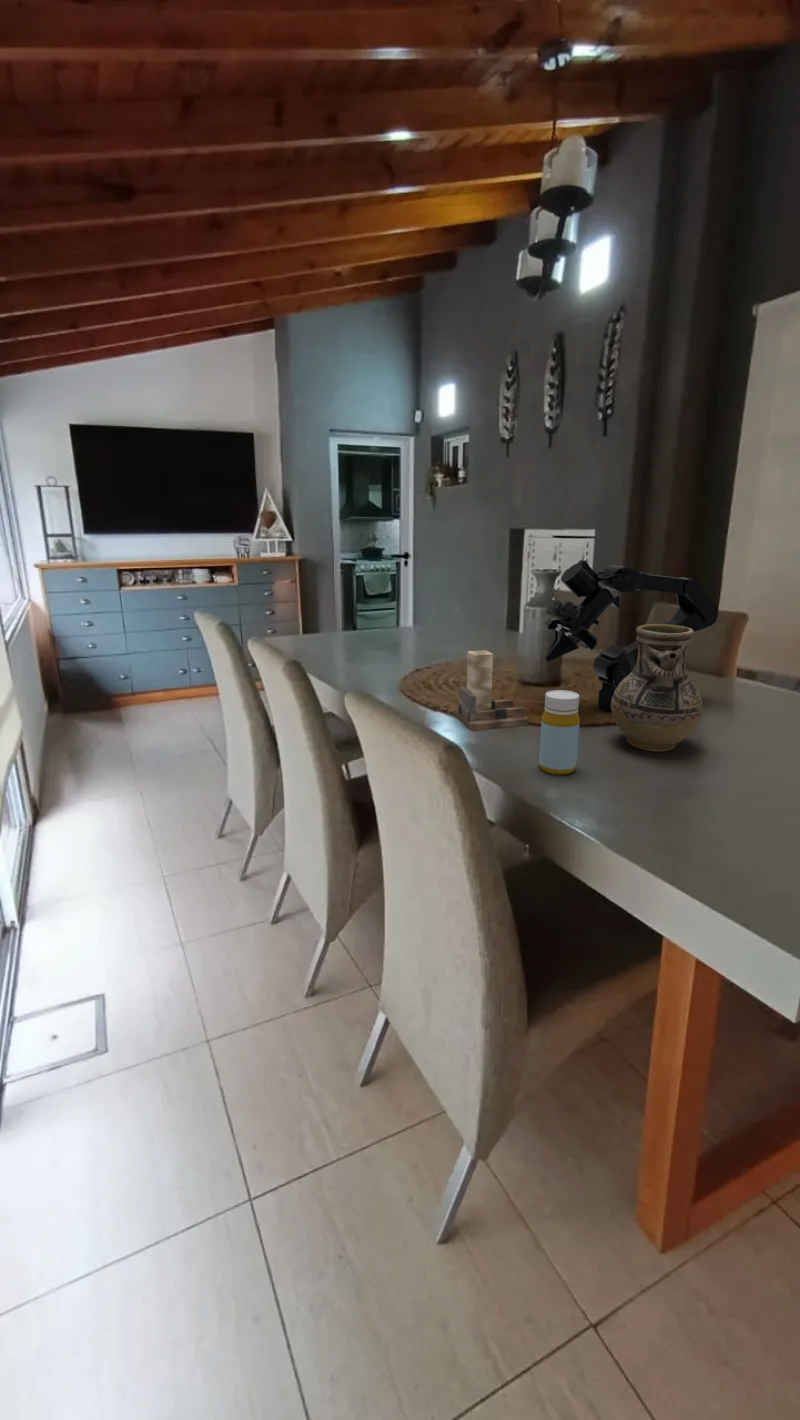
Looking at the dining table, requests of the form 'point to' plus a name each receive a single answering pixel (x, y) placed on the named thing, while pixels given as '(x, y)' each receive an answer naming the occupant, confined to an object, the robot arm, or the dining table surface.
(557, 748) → the bottle
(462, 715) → the peg housing
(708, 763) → the dining table surface
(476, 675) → the birch peg
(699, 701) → the decorative pitcher
